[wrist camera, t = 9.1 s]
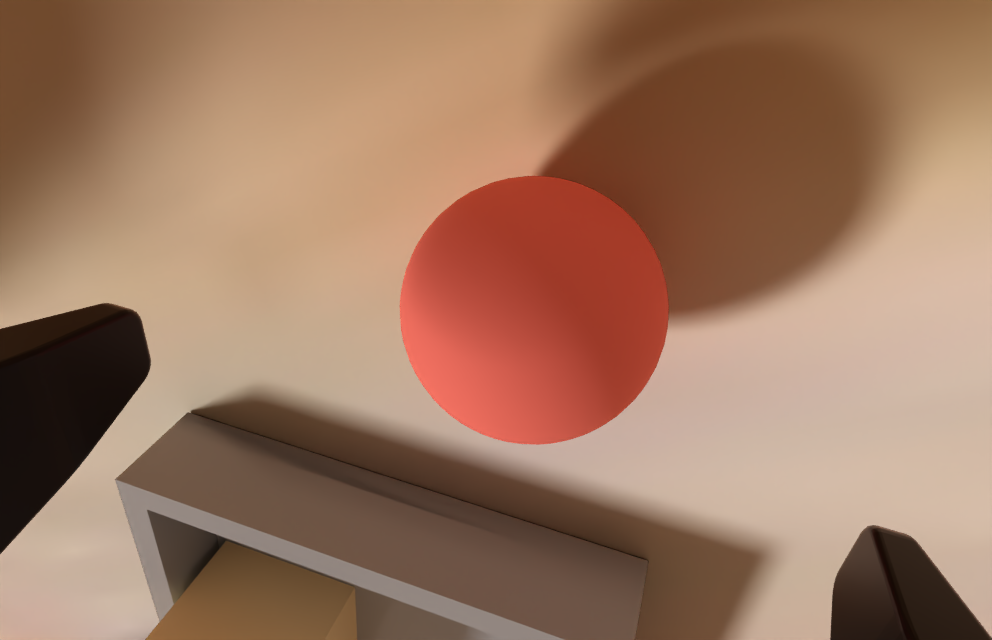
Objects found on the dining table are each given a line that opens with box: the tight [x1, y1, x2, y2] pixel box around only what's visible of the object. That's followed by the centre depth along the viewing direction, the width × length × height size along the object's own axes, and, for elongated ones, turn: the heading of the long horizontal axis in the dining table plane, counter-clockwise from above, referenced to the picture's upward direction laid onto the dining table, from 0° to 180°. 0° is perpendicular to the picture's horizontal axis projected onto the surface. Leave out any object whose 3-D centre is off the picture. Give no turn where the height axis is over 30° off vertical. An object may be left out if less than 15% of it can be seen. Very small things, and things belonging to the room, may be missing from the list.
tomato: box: [400, 176, 669, 444], centre depth 11 cm, size 4×4×4 cm
